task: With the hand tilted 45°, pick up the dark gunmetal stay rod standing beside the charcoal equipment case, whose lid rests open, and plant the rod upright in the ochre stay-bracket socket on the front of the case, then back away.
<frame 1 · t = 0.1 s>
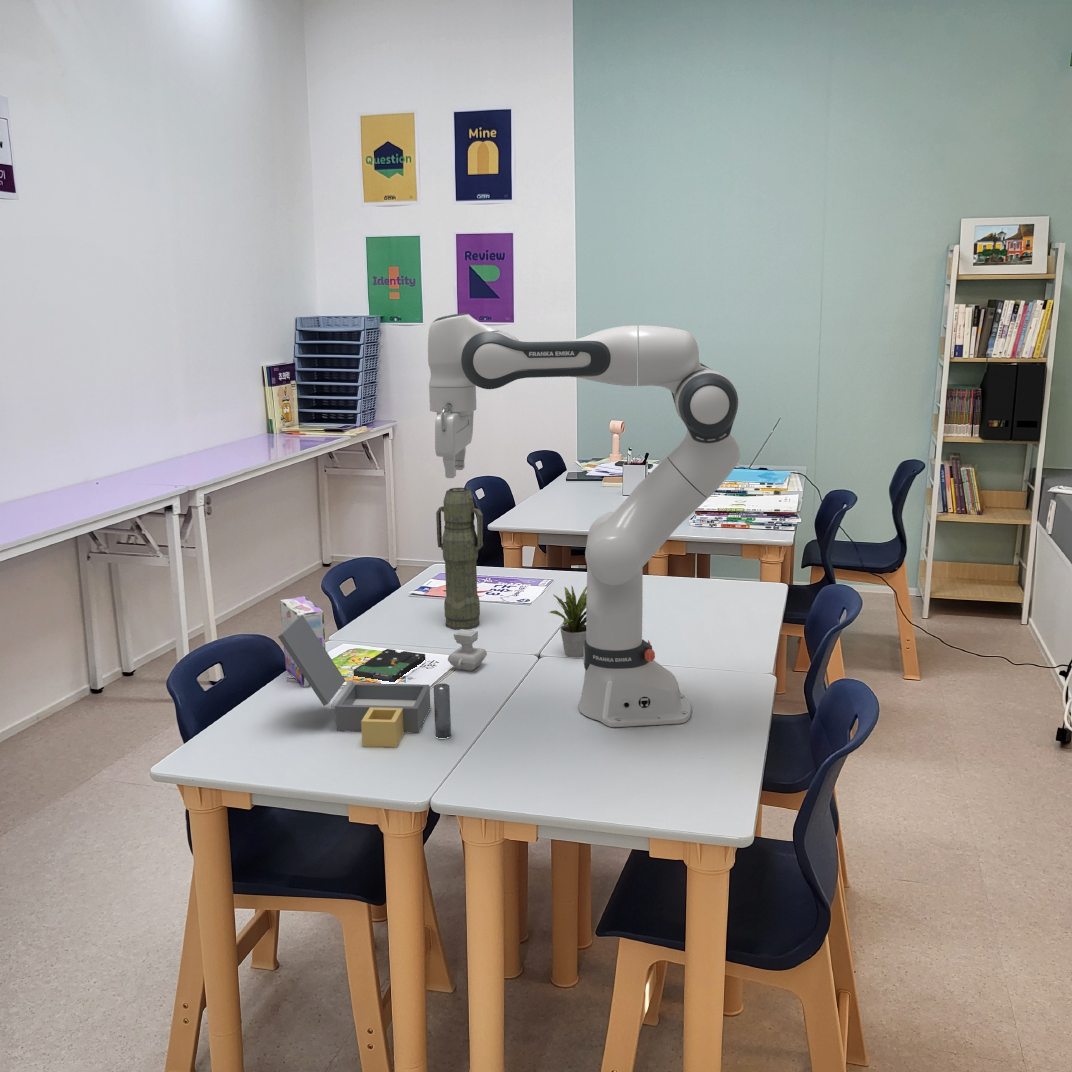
hand: (455, 473, 191), 48 cm above the table, tool pointing down, fingers open, 8 cm apart
candy box: (306, 676, 219), on the table
case lid: (312, 659, 194), point 12 cm above the table, hinge at 120.0°
thermos: (462, 625, 252), on the table
disk drive: (390, 673, 221), on the table
house plant: (576, 656, 229), on the table
equipment case: (384, 719, 196), on the table
stamp: (467, 668, 223), on the table
stay rod: (443, 736, 188), on the table
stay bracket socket: (383, 739, 186), on the table
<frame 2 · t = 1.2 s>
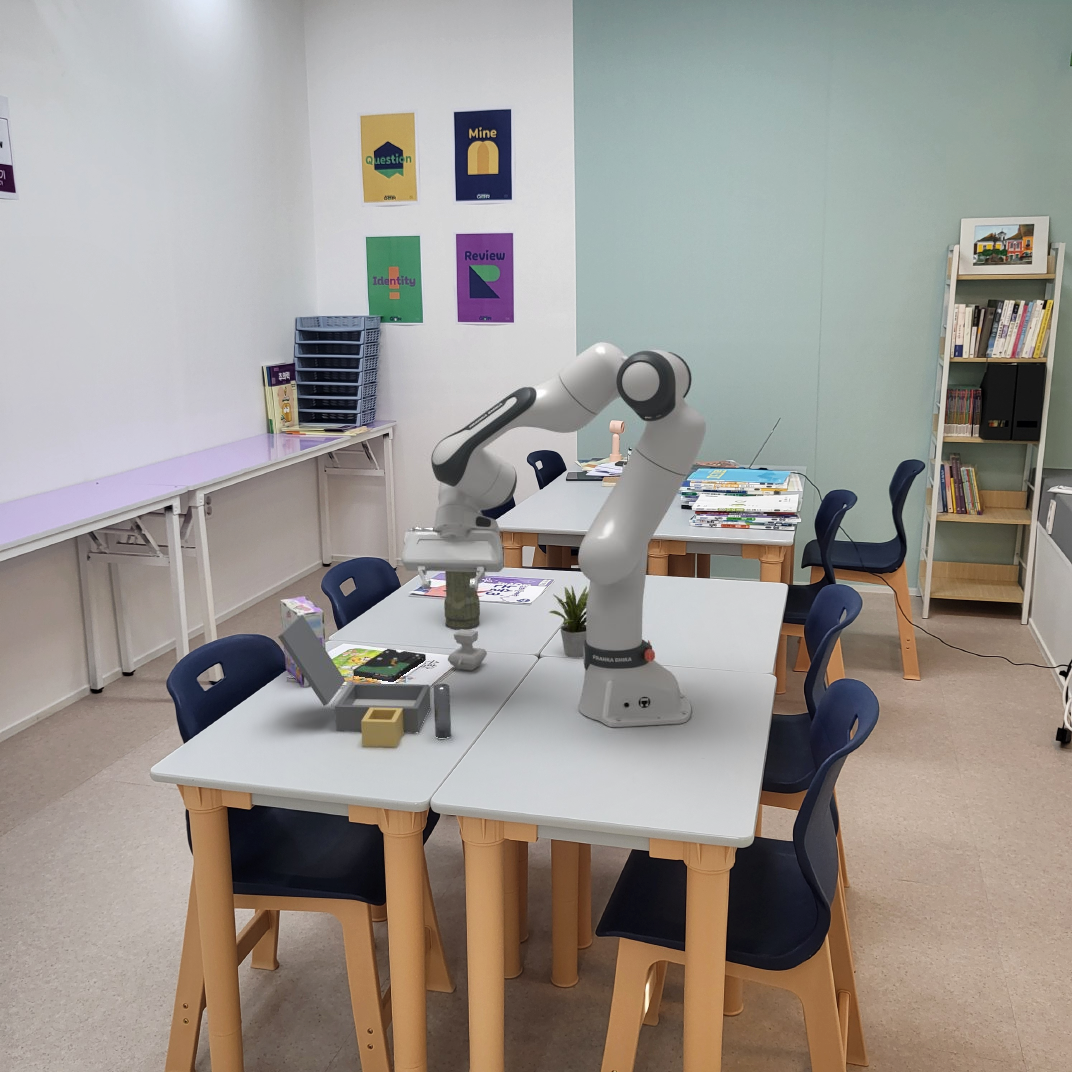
hand: (449, 588, 193), 26 cm above the table, tool tilted 45°, fingers open, 8 cm apart
nothing on the table moved.
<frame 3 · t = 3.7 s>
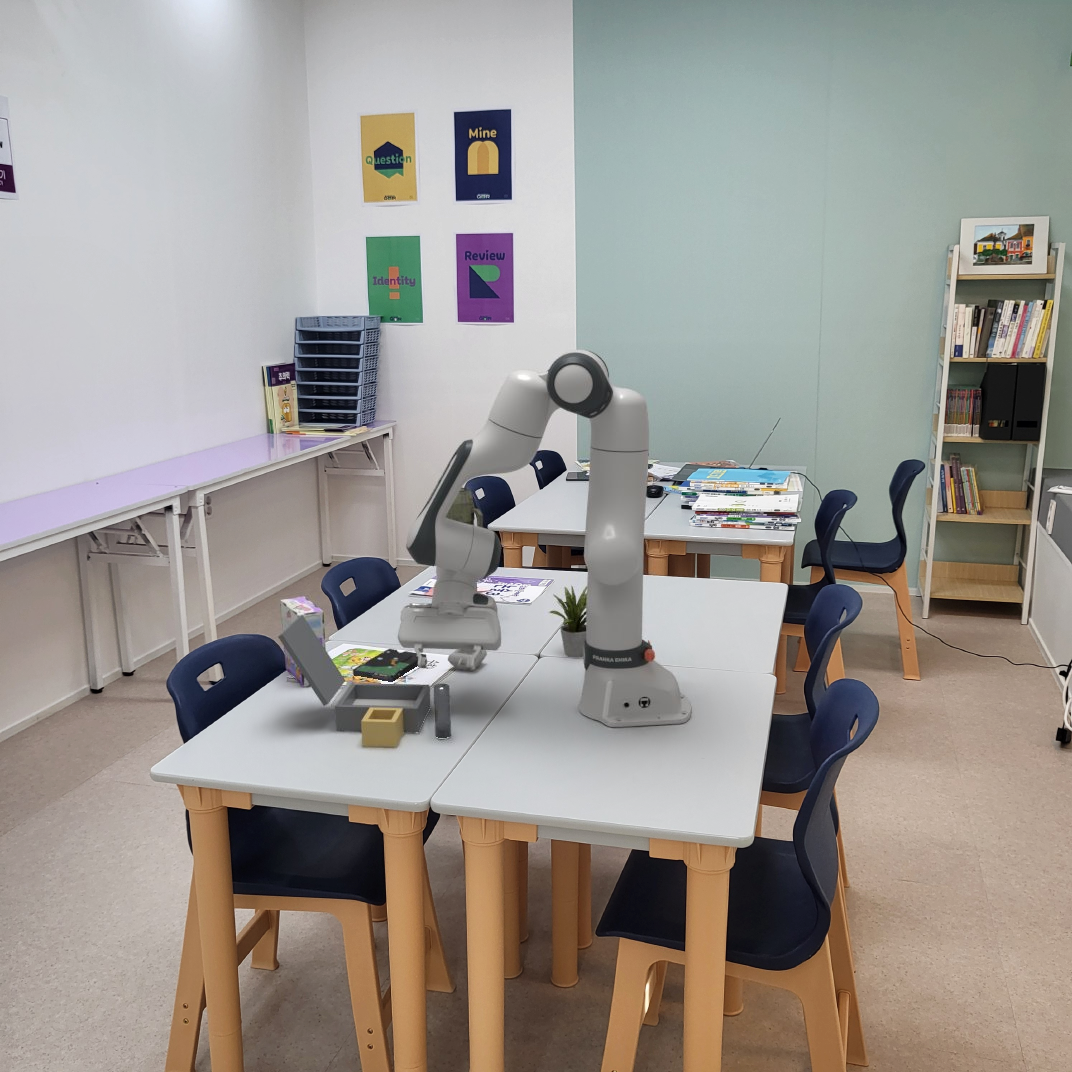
hand: (445, 667, 191), 11 cm above the table, tool tilted 45°, fingers open, 8 cm apart
nothing on the table moved.
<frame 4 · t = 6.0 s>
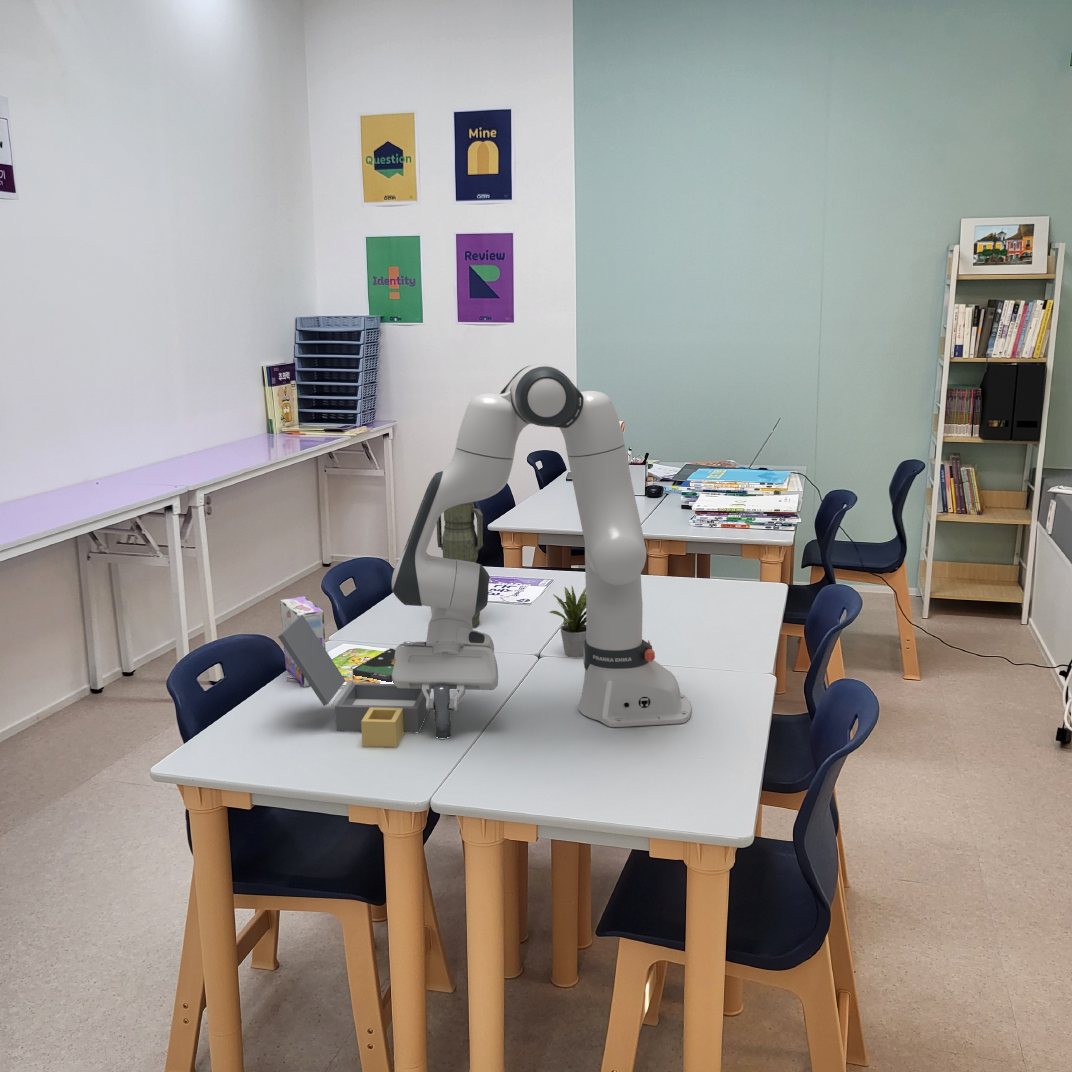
hand: (441, 709, 186), 6 cm above the table, tool tilted 45°, fingers closed on stay rod, 3 cm apart
stay rod: (443, 735, 188), on the table, touching gripper
everything else where it was.
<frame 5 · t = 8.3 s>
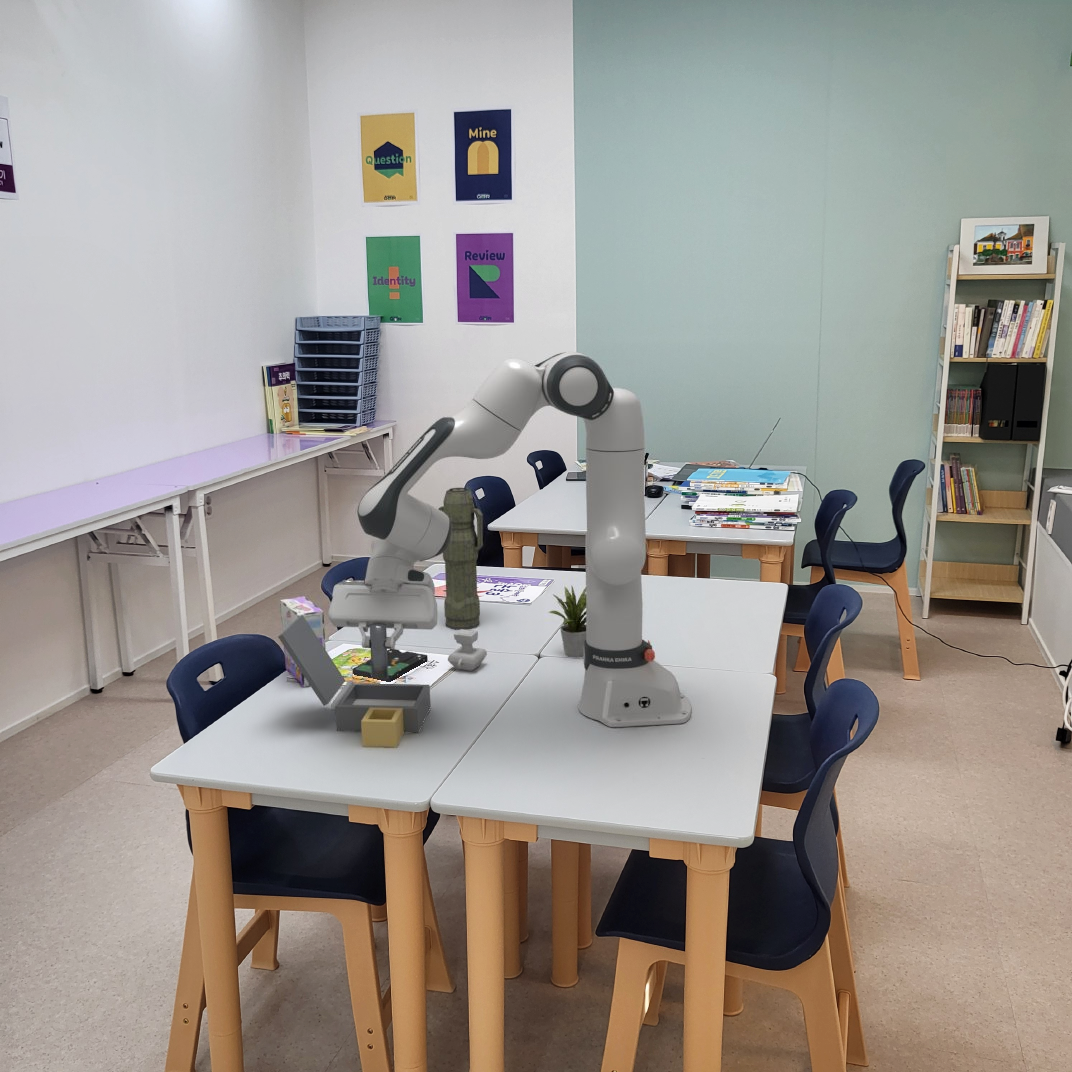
hand: (377, 647, 182), 19 cm above the table, tool tilted 45°, fingers closed on stay rod, 3 cm apart
stay rod: (379, 676, 184), point 13 cm above the table, touching gripper
everything else where it was.
when the fingers open (7 cm above the table, at t = 10.5 s): stay rod drops 1 cm, resting in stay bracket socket.
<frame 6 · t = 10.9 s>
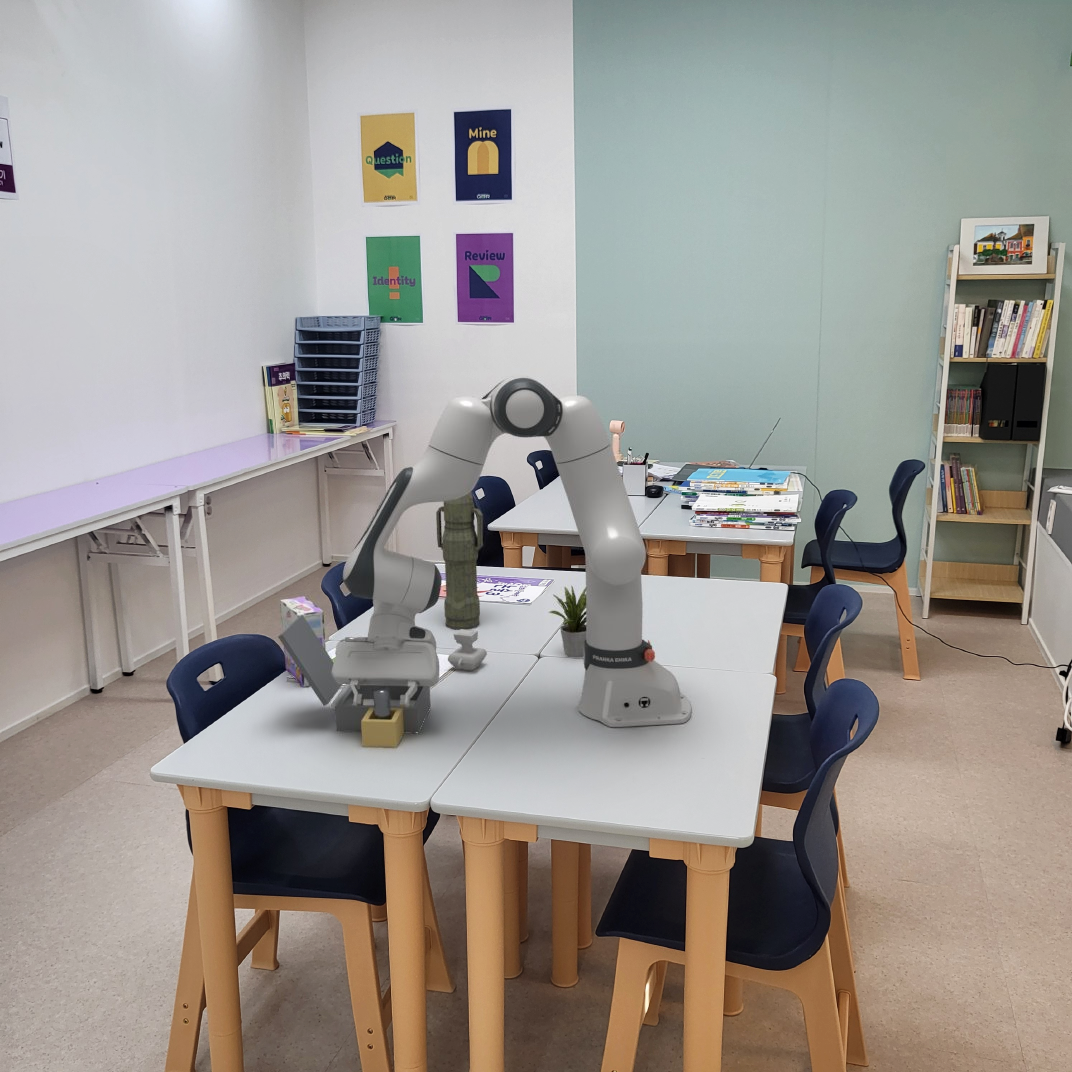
hand: (381, 705, 184), 7 cm above the table, tool tilted 45°, fingers open, 7 cm apart
stay rod: (384, 739, 186), resting in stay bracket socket
everything else where it was.
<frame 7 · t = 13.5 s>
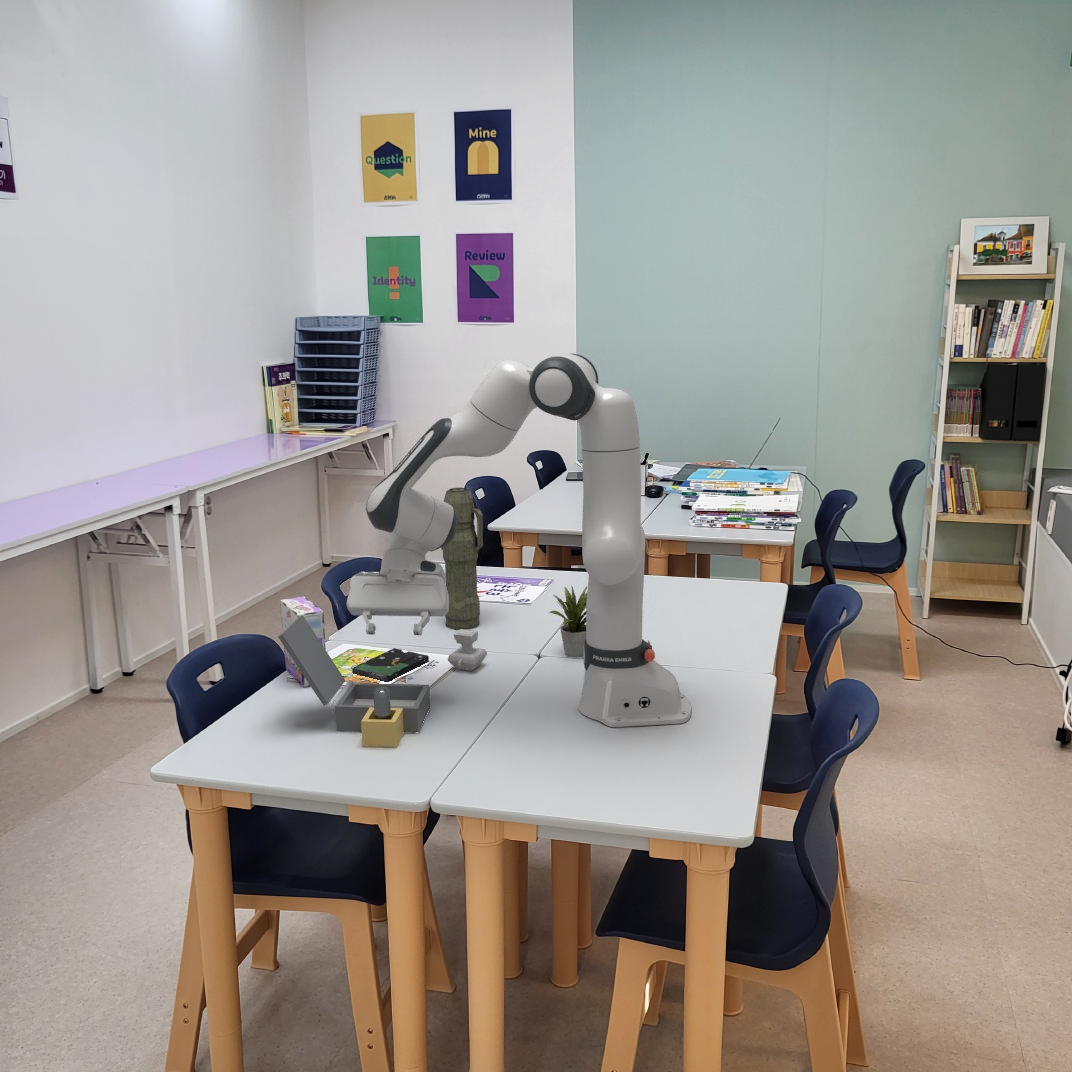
hand: (393, 633, 194), 17 cm above the table, tool tilted 45°, fingers open, 8 cm apart
nothing on the table moved.
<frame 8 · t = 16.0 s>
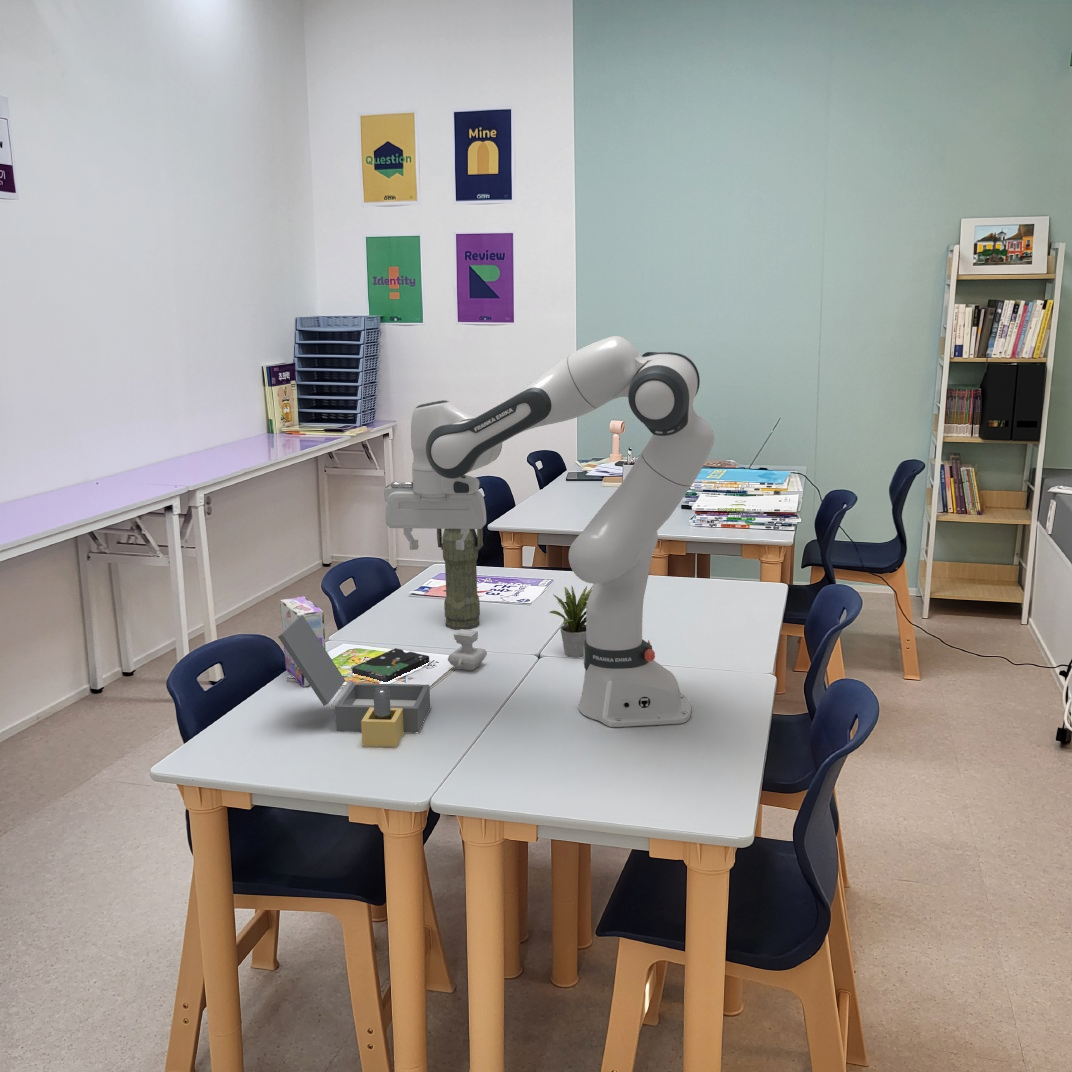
hand: (437, 549, 201), 31 cm above the table, tool pointing down, fingers open, 8 cm apart
nothing on the table moved.
at the end: stay rod 0.1 cm off-centre on the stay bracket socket, point 0.0 cm above the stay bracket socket's base; stay rod tilted 0°; the gripper is holding nothing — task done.
